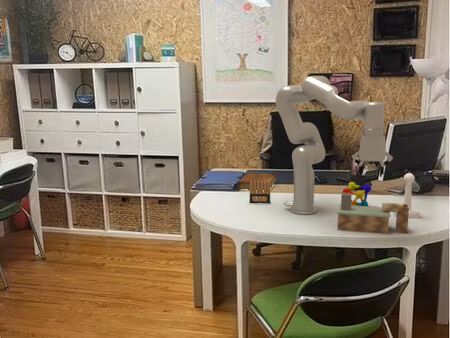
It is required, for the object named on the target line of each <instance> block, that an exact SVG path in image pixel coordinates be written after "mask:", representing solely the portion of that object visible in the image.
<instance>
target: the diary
mask: <svg viewBox="0 0 450 338" xmlns="http://www.w3.org/2000/svg"><path fill="white" fill-rule="evenodd" d="M277 176H278V174H277V173H261V172H260V173H258V172H247V173H246V174H245V175H244V176H243V177H241V178H240V179H239V180H238V181H237V182H236V189H237V188H238V189H239V188H240V189H248V190H250V182H251V181H252V187H253V186H254V181H255V182H256V190H257V182H258V181H259V186H261V181H262V182H263V190H264V182H265V181H266V188H267V184H268V181H269V182H270V188H271V187H272V185H273V184H274V182H275V181H276V182H277V180H276V179H277Z"/></svg>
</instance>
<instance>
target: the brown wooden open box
mask: <svg viewBox="0 0 450 338" xmlns="http://www.w3.org/2000/svg"><path fill="white" fill-rule="evenodd" d="M402 204H403V203H402ZM408 214H409V207H408V204H403V207H398V212H397V217H395V218H396V219H395V220H396V222H395V230H396V233H398V234H399V233H400V234H408V228H409V227H408V226H409V218H408V216H409V215H408ZM389 222H390V217H376V216H361V215H346V214H337V230H339V231H341V230H342V231H350V232H351V231H352V232H353V231H354V232H365V233H376V234H377V233H379V234H389V224H390V223H389Z"/></svg>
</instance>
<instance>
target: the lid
mask: <svg viewBox="0 0 450 338" xmlns="http://www.w3.org/2000/svg"><path fill="white" fill-rule="evenodd" d="M351 199H352V193H342V192H341V200H340V204H338V205H337V210H336V214H337V215H338V214H346V215H361V216H376V217H389V218H391V212H385V211H382V206H368V207H367V206H351Z"/></svg>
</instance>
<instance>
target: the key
mask: <svg viewBox="0 0 450 338" xmlns="http://www.w3.org/2000/svg"><path fill="white" fill-rule="evenodd" d="M381 207H382V211H385V212H390V213H393V212H398V207H403V203H397V202H396V203H391V202H382V203H381Z"/></svg>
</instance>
